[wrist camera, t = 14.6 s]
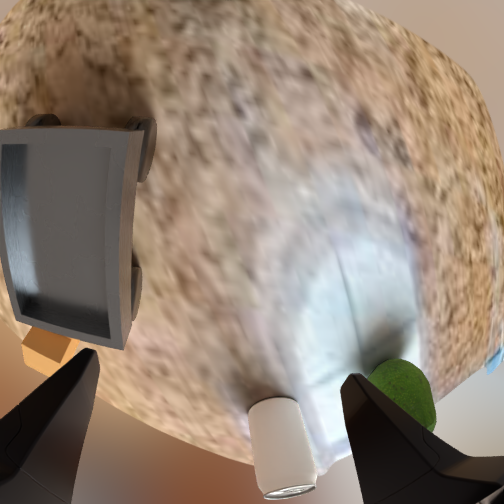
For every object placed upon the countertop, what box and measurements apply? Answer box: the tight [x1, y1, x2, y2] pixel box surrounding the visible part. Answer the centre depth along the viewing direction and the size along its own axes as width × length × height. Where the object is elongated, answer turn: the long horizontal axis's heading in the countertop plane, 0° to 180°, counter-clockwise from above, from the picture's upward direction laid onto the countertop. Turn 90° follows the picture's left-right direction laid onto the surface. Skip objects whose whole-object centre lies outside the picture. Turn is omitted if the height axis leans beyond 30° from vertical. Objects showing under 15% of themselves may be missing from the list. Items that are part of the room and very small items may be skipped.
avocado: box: [368, 358, 436, 432], centre depth 25 cm, size 8×8×12 cm
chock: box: [21, 326, 80, 377], centre depth 19 cm, size 6×4×6 cm, turn 154°
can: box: [248, 397, 317, 499], centre depth 26 cm, size 6×6×12 cm
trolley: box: [0, 114, 157, 350], centre depth 15 cm, size 14×9×7 cm, turn 167°
